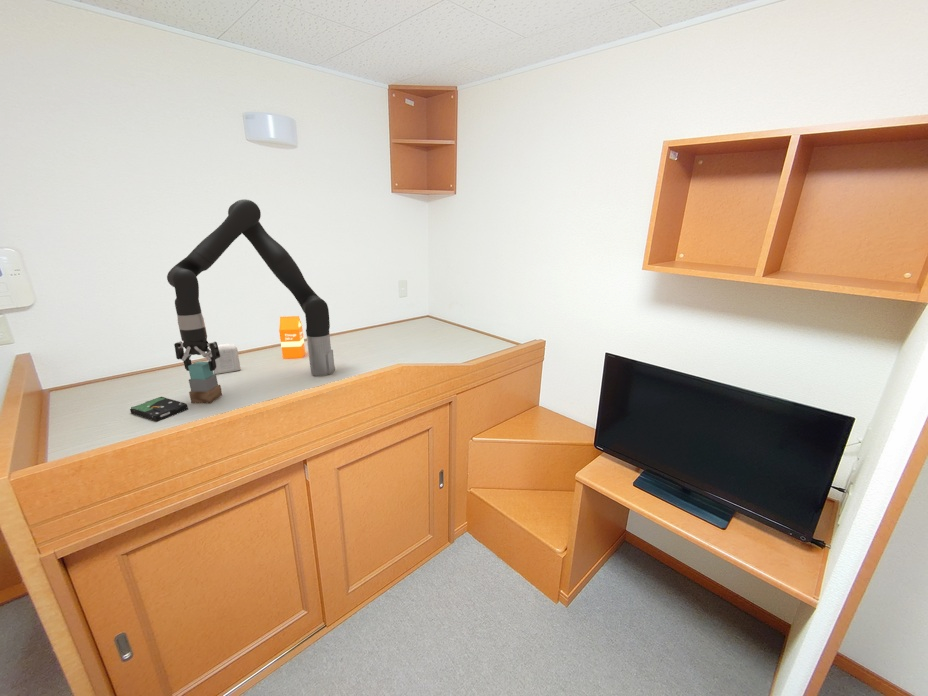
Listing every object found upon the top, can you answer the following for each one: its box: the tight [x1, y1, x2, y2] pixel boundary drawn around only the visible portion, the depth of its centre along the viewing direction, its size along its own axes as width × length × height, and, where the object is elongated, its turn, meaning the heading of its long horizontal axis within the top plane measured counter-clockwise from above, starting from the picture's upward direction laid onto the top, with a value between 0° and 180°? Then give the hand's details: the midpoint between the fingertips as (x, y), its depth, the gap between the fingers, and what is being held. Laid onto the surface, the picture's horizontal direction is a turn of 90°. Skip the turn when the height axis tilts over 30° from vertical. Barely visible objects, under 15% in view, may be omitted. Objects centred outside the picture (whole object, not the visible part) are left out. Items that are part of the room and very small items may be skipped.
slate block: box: [188, 373, 219, 392], centre depth 143 cm, size 6×6×4 cm
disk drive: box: [129, 396, 189, 423], centre depth 135 cm, size 10×3×15 cm
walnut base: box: [188, 384, 223, 404], centre depth 144 cm, size 7×7×4 cm
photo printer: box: [209, 343, 241, 375], centre depth 171 cm, size 10×4×12 cm, turn 123°
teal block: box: [188, 361, 214, 380], centre depth 141 cm, size 5×5×5 cm
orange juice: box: [278, 315, 306, 360], centre depth 190 cm, size 8×9×20 cm
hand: (201, 370), depth 141 cm, fingers open, 8 cm apart
